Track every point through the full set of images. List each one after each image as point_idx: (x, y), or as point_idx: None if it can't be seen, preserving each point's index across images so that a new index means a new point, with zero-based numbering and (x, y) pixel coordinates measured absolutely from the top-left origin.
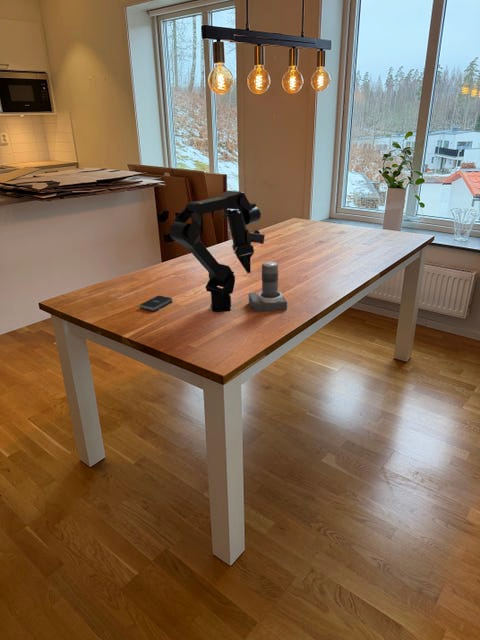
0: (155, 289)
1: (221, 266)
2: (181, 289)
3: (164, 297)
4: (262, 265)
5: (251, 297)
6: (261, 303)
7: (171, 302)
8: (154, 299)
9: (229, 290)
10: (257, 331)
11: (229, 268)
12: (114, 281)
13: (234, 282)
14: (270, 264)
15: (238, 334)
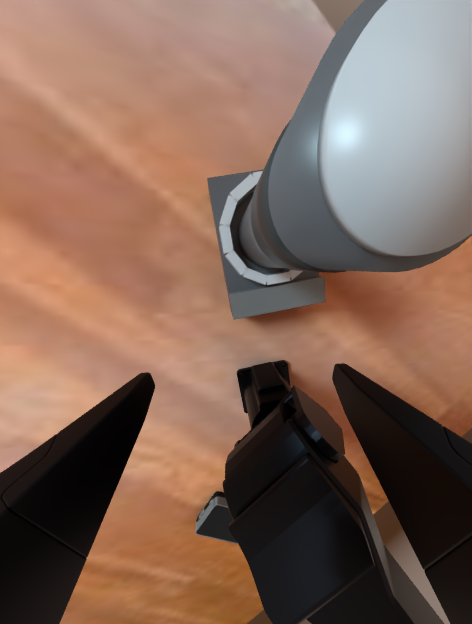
0: (127, 542)
1: (393, 599)
2: (120, 493)
3: (210, 519)
4: (403, 266)
5: (281, 309)
6: (313, 272)
7: (220, 493)
8: (223, 532)
9: (312, 404)
10: (422, 287)
11: (362, 525)
12: (79, 621)
13: (303, 408)
14: (468, 129)
15: (423, 332)
